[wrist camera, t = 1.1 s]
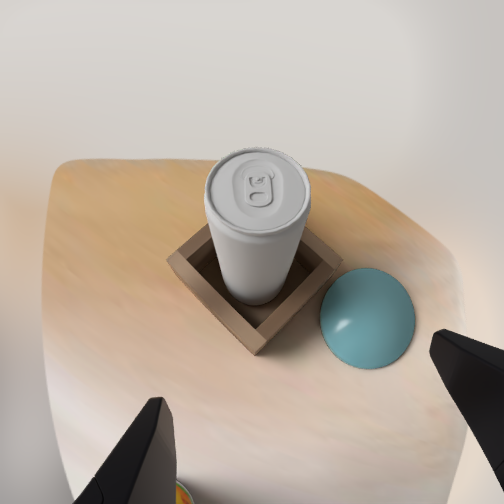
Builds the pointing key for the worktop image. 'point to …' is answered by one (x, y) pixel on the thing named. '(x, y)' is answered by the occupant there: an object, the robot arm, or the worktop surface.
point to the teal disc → (367, 318)
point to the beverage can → (256, 219)
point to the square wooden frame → (187, 270)
